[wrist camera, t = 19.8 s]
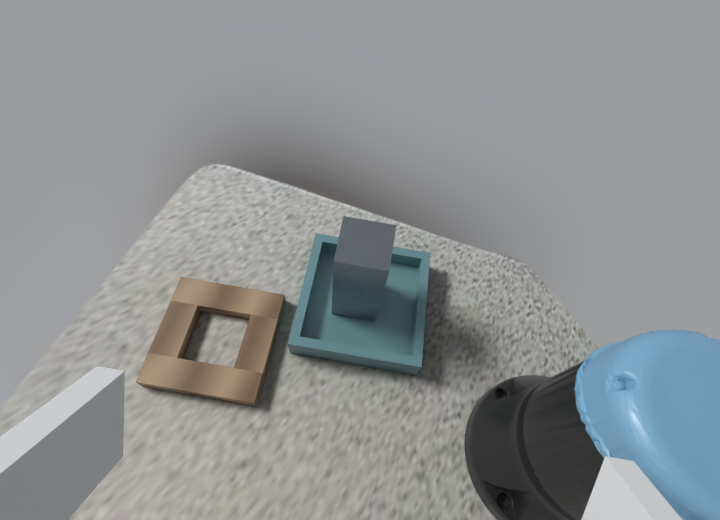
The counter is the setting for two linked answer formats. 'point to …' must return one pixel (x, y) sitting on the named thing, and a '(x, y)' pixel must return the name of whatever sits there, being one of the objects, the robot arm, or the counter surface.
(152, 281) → the counter surface
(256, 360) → the socket plate
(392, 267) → the tray
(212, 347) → the counter surface
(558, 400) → the robot arm
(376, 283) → the grey rectangular block
